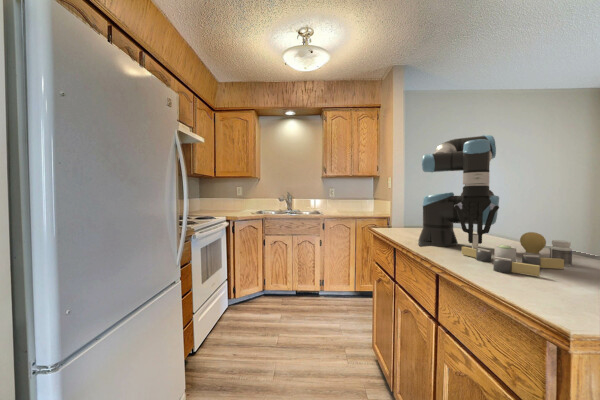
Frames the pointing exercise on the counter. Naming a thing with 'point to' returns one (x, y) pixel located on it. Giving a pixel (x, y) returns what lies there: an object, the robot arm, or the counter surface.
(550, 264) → the knob
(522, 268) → the knob
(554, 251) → the pill bottle
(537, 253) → the light bulb
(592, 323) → the counter surface
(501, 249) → the tribrach plate
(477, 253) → the knob
